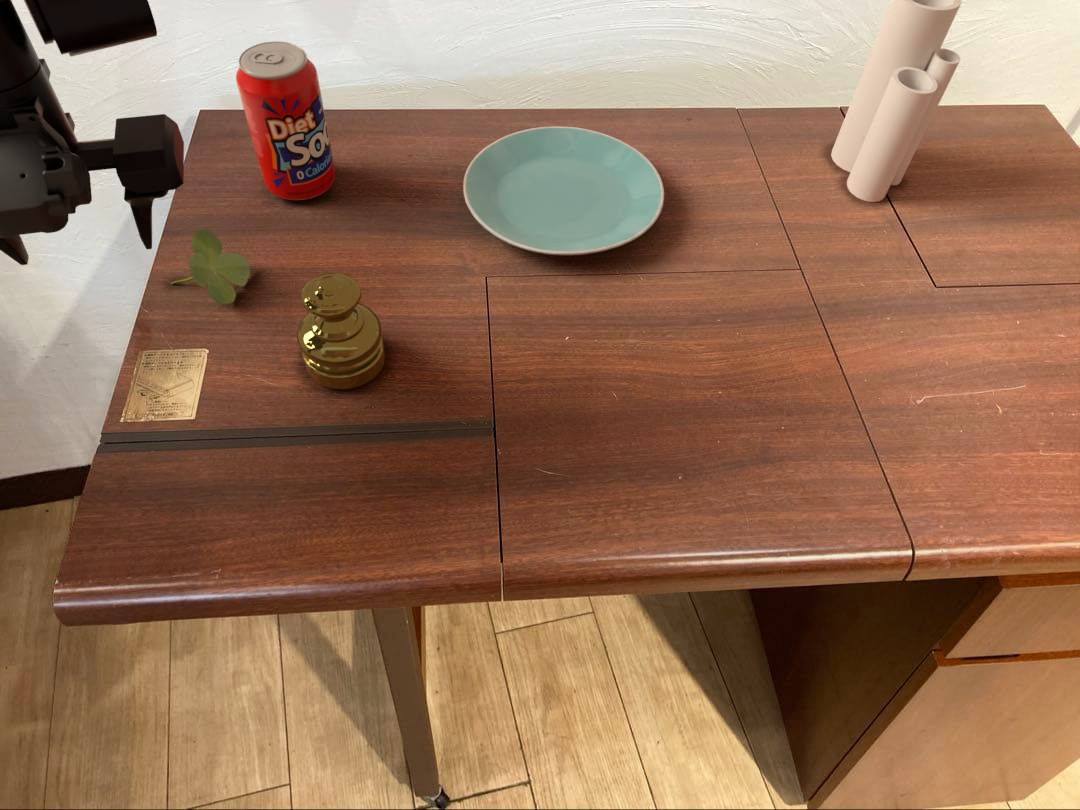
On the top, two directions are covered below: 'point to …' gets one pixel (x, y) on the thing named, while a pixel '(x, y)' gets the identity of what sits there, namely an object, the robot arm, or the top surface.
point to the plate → (563, 191)
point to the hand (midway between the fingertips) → (88, 253)
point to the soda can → (286, 120)
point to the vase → (896, 95)
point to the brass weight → (339, 333)
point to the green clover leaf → (216, 267)
